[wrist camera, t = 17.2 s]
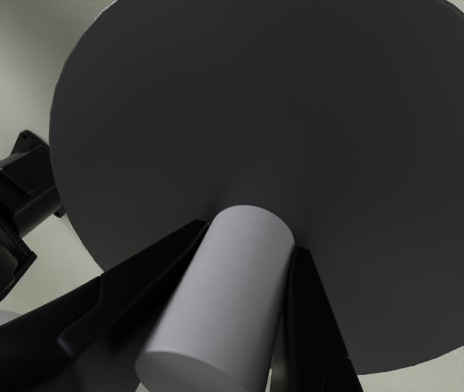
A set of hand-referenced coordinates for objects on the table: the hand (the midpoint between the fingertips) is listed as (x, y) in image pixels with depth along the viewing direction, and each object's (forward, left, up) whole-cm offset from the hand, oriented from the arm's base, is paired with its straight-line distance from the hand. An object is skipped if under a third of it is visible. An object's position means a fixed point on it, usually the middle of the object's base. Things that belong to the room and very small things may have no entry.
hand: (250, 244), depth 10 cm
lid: (0, 0, -1) cm, 1 cm away
